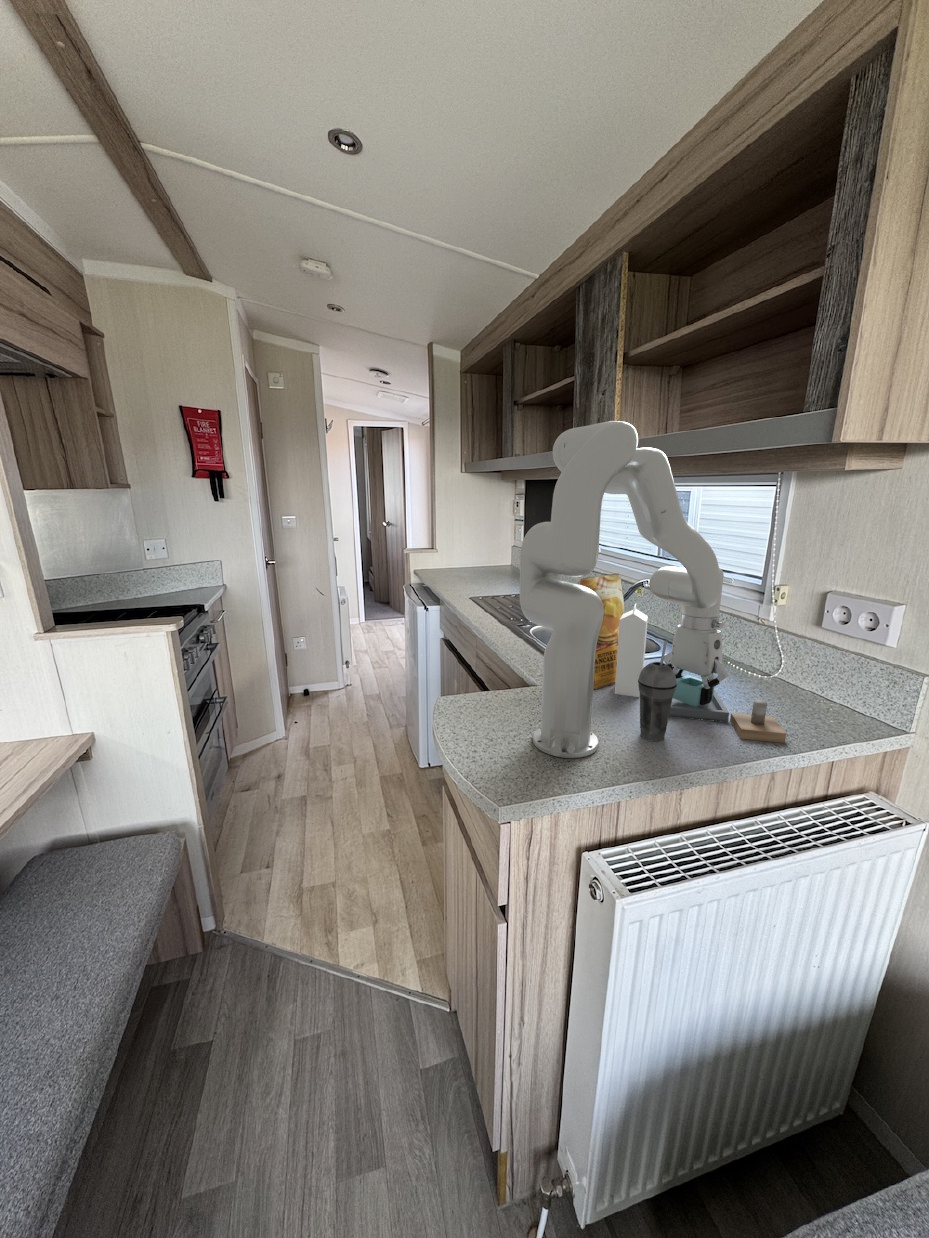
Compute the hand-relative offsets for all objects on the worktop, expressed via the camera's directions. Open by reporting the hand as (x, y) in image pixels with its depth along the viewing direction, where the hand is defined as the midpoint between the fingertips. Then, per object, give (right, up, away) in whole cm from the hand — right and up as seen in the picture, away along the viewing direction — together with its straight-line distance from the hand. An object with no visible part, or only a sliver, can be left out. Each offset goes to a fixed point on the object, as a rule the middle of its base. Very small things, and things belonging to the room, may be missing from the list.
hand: (690, 697), depth 116 cm
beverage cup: (-14, -6, -13) cm, 20 cm away
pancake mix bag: (-17, +1, +17) cm, 23 cm away
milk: (-11, 0, +10) cm, 15 cm away
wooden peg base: (+8, -5, -11) cm, 15 cm away
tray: (0, -2, +1) cm, 2 cm away
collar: (+1, 0, +1) cm, 1 cm away
